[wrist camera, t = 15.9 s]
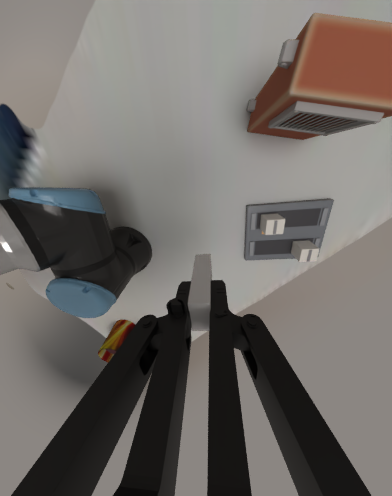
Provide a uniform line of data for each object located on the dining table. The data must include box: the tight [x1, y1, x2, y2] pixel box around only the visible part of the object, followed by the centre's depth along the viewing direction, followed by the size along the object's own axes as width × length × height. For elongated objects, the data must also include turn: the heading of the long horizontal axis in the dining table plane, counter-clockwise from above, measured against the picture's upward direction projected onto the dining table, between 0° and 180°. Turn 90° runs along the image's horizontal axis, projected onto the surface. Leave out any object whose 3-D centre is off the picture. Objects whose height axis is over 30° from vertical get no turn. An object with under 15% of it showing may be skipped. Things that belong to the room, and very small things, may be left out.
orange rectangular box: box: [247, 13, 392, 140], centre depth 24 cm, size 21×7×15 cm
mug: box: [98, 320, 135, 362], centre depth 64 cm, size 10×14×12 cm
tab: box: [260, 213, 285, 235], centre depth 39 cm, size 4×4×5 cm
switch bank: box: [244, 199, 334, 260], centre depth 44 cm, size 20×16×2 cm
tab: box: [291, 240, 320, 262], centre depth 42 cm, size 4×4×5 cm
